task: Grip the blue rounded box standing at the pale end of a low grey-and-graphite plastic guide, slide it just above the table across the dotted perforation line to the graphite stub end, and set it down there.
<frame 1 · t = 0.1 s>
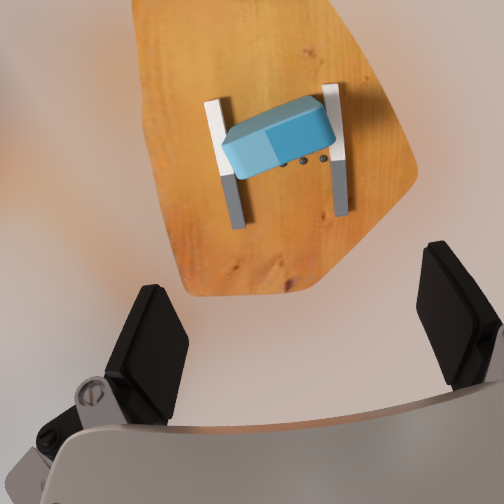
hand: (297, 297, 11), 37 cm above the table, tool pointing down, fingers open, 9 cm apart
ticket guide: (281, 157, 45), on the table
blue rounded box: (276, 123, 42), on the table
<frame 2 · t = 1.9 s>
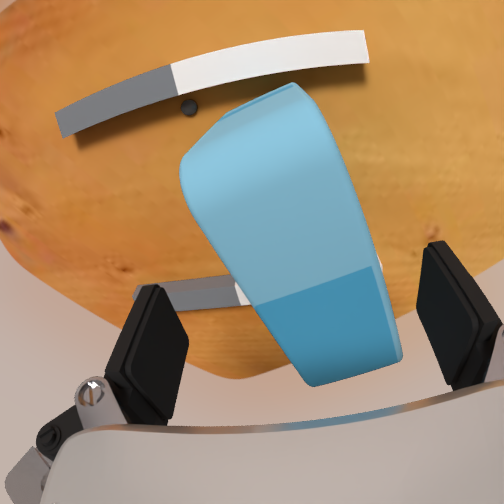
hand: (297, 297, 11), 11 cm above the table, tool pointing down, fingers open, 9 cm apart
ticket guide: (227, 189, 21), on the table
blue rounded box: (301, 175, 21), on the table
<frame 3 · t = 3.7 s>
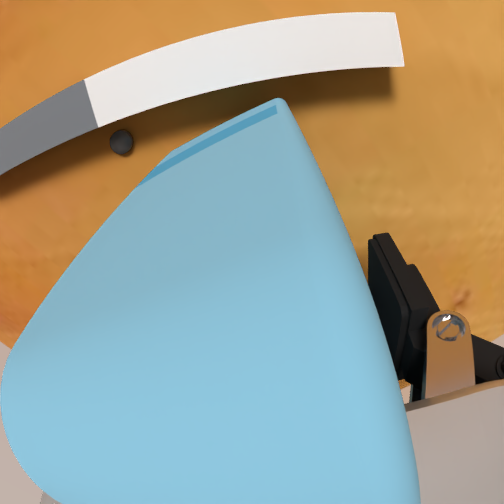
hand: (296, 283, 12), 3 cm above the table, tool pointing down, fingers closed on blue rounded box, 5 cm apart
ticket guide: (185, 256, 15), on the table
blue rounded box: (291, 237, 14), on the table, touching gripper
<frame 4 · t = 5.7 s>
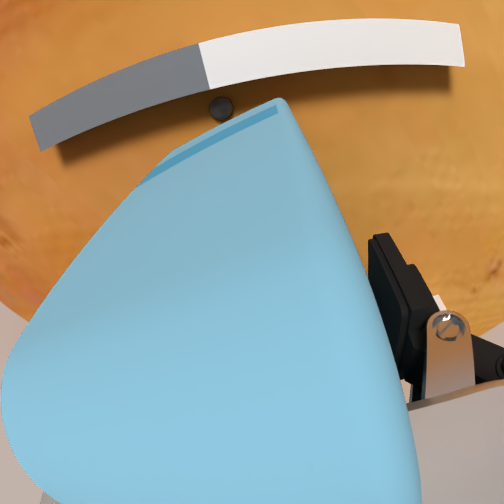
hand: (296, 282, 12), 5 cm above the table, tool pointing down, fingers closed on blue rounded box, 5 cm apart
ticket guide: (269, 221, 16), on the table
blue rounded box: (291, 237, 14), point 2 cm above the table, touching gripper
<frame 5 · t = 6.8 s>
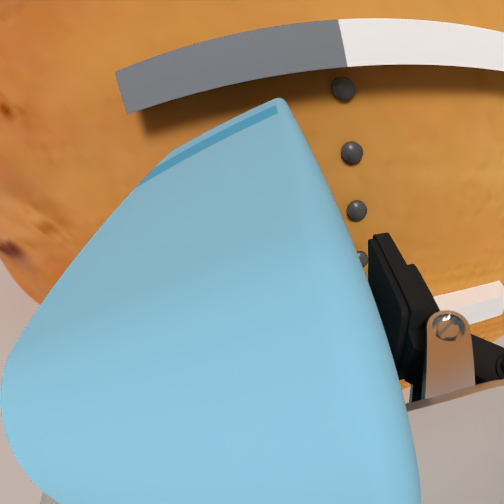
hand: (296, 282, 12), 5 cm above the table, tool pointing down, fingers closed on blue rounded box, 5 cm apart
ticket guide: (375, 206, 15), on the table
blue rounded box: (291, 237, 14), point 2 cm above the table, touching gripper
when the fingers open (4 cm above the table, at t = 7.8 s): blue rounded box stays where it is, on the table.
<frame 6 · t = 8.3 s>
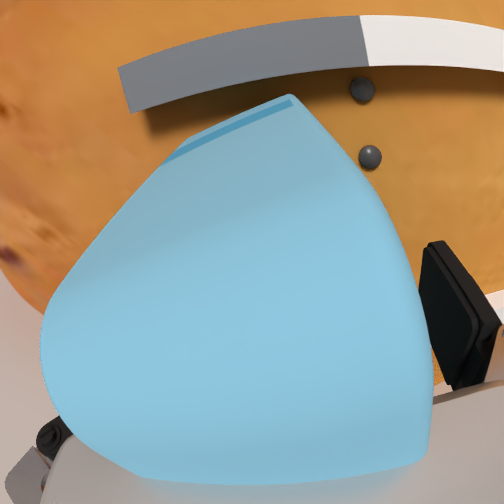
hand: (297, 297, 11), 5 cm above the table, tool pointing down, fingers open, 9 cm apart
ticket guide: (392, 213, 14), on the table
blue rounded box: (293, 225, 15), on the table
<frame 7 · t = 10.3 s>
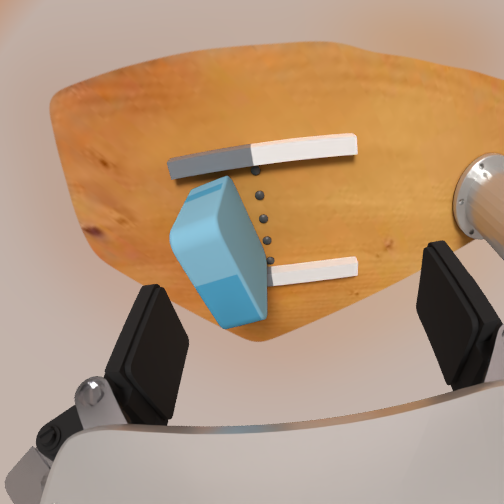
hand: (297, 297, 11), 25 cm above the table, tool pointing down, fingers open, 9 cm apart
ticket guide: (272, 217, 37), on the table
blue rounded box: (231, 221, 38), on the table
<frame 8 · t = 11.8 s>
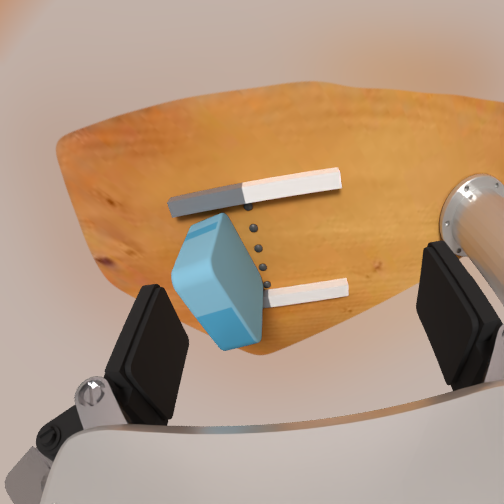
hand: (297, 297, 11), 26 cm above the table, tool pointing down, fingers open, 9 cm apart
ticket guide: (266, 246, 41), on the table
blue rounded box: (229, 251, 42), on the table
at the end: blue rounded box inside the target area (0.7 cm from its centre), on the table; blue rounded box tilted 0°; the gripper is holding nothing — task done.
